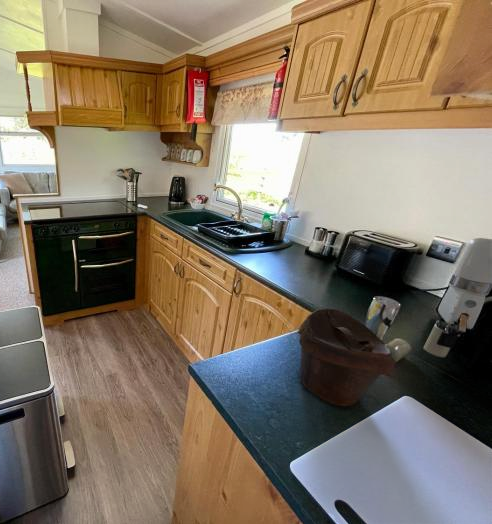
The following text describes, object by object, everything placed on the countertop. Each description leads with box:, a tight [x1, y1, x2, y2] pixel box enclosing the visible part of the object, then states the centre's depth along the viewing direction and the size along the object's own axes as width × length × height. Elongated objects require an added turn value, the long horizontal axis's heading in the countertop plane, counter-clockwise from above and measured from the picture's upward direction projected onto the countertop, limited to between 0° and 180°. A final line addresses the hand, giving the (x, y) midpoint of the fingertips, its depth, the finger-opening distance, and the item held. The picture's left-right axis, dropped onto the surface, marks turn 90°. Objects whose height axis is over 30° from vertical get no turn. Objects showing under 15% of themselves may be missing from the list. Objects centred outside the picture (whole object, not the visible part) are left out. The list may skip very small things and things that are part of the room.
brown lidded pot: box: [297, 307, 396, 407], centre depth 69 cm, size 18×20×18 cm
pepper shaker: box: [423, 321, 456, 358], centre depth 84 cm, size 5×5×9 cm
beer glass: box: [364, 295, 402, 342], centre depth 90 cm, size 7×7×15 cm
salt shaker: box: [385, 338, 412, 363], centre depth 85 cm, size 5×5×9 cm
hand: (440, 340), depth 84 cm, fingers closed on pepper shaker, 5 cm apart
